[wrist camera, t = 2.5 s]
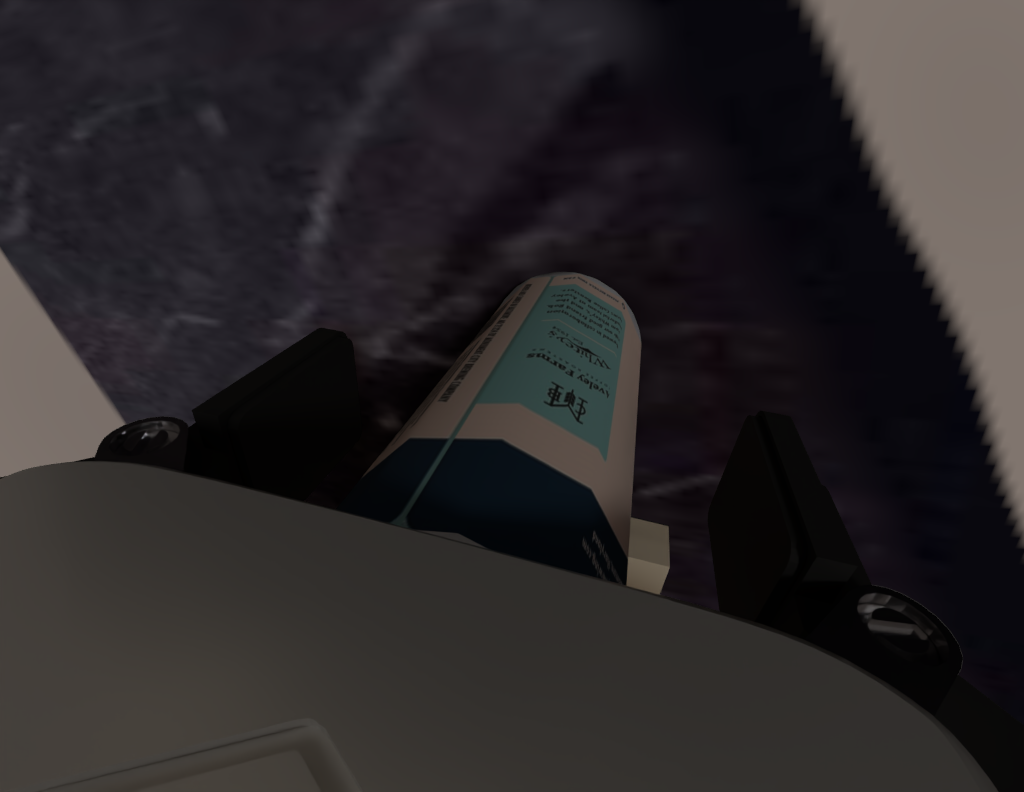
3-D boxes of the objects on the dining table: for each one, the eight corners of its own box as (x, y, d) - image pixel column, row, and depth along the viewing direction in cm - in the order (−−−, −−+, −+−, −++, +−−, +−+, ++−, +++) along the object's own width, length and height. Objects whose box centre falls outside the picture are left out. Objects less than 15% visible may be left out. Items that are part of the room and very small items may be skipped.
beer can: (508, 402, 17) (313, 787, 7) (484, 274, 15) (160, 577, 5) (643, 401, 16) (625, 873, 6) (639, 259, 14) (597, 636, 4)
